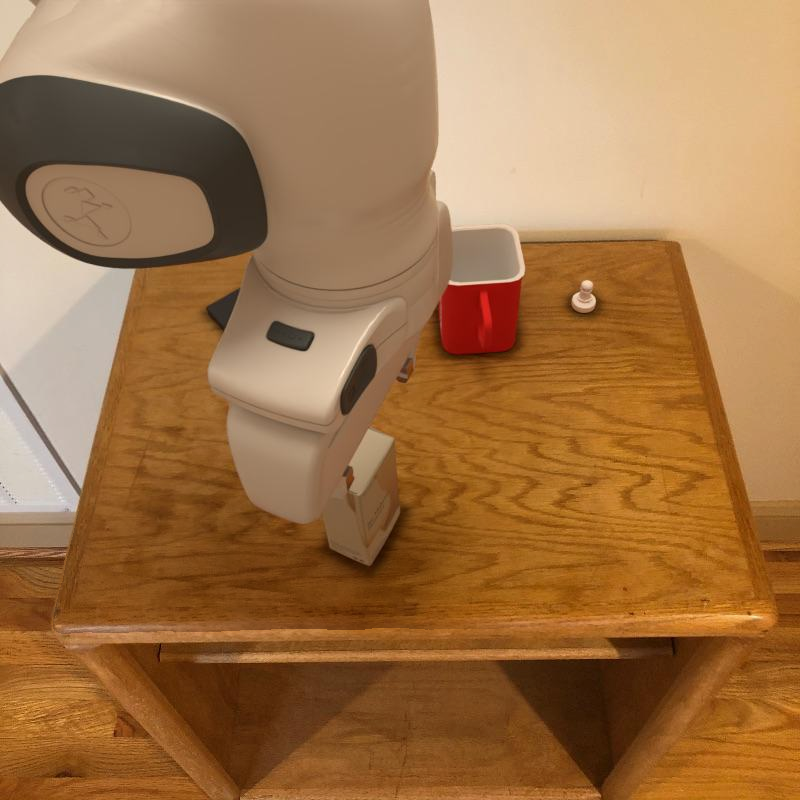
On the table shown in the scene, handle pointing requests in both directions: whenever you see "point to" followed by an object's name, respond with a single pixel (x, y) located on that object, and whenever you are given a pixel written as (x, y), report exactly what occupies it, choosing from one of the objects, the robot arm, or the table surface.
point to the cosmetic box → (366, 501)
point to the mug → (482, 290)
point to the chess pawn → (584, 298)
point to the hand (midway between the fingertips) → (370, 427)
